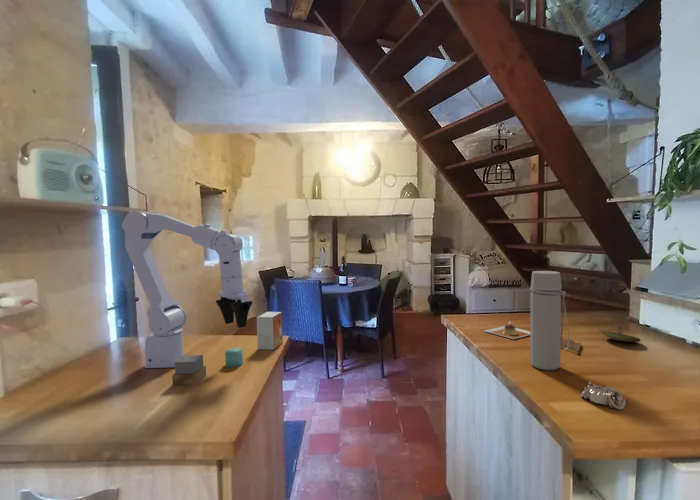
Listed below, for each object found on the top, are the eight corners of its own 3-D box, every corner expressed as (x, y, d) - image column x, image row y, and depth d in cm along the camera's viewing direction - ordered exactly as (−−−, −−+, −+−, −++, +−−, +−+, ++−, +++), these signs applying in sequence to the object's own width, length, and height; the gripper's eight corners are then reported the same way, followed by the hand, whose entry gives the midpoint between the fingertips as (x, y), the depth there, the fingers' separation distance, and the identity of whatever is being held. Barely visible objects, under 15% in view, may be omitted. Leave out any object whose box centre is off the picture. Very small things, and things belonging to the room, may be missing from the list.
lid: (594, 341, 121) (594, 326, 120) (606, 335, 127) (606, 321, 126) (634, 349, 112) (634, 333, 112) (645, 343, 118) (645, 327, 118)
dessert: (513, 342, 124) (513, 327, 124) (483, 333, 134) (483, 320, 134) (536, 336, 130) (536, 322, 130) (506, 328, 140) (506, 315, 140)
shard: (577, 357, 109) (577, 350, 109) (547, 352, 113) (548, 346, 113) (581, 346, 117) (581, 341, 117) (553, 342, 122) (553, 337, 122)
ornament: (632, 405, 79) (632, 388, 78) (617, 414, 75) (617, 396, 75) (590, 392, 85) (591, 376, 85) (574, 400, 82) (575, 383, 81)
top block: (175, 374, 94) (174, 362, 94) (184, 366, 99) (183, 355, 99) (195, 373, 94) (194, 361, 94) (203, 366, 99) (202, 354, 99)
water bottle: (531, 370, 98) (531, 273, 97) (528, 360, 106) (528, 270, 104) (571, 374, 95) (572, 274, 94) (566, 363, 102) (566, 270, 101)
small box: (273, 350, 120) (272, 317, 119) (257, 349, 121) (255, 316, 120) (283, 342, 127) (282, 311, 127) (267, 342, 128) (266, 311, 128)
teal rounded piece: (223, 367, 106) (222, 353, 105) (228, 361, 110) (228, 348, 110) (240, 367, 106) (239, 352, 105) (244, 361, 110) (244, 347, 110)
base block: (172, 387, 94) (172, 375, 94) (183, 377, 100) (182, 366, 100) (197, 386, 94) (196, 374, 94) (206, 376, 100) (205, 365, 100)
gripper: (257, 276, 104) (261, 325, 105) (233, 274, 115) (236, 318, 115) (233, 279, 99) (237, 331, 100) (210, 277, 110) (214, 323, 111)
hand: (235, 325), depth 107 cm, fingers open, 7 cm apart
